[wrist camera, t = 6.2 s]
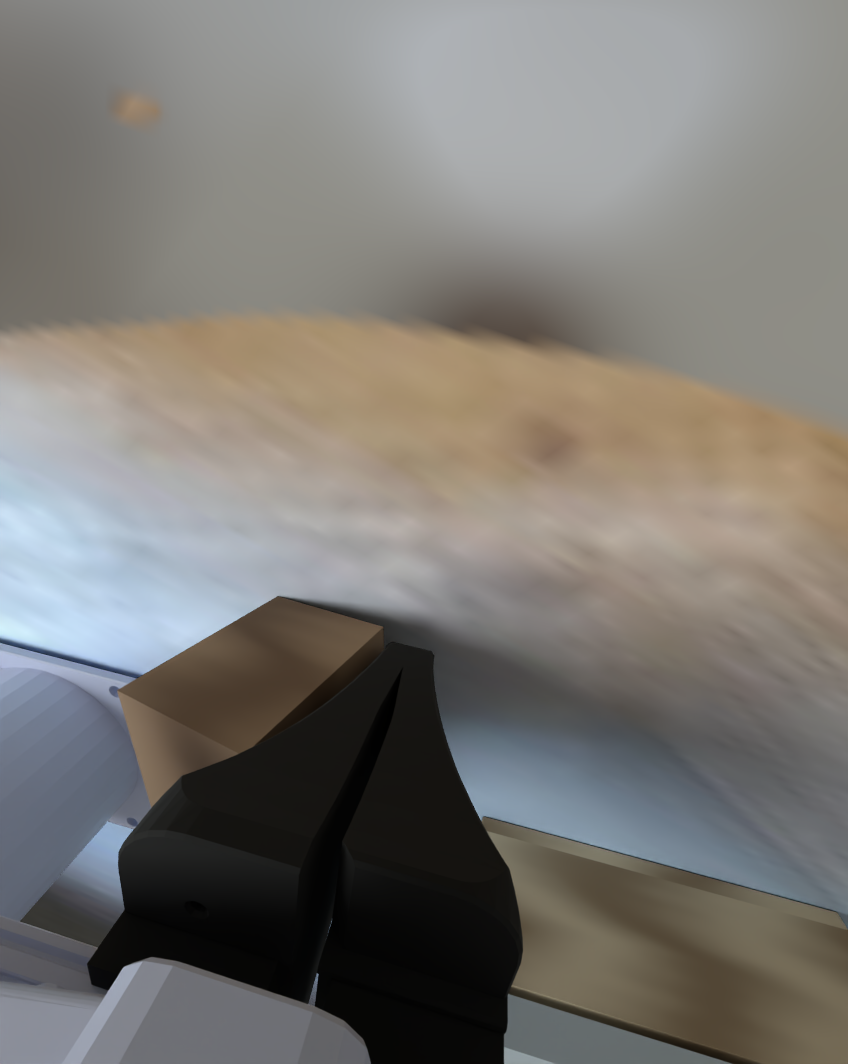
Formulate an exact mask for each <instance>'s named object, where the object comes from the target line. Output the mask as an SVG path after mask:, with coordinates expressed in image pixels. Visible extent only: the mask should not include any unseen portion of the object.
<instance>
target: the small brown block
mask: <svg viewBox="0 0 848 1064" xmlns="http://www.w3.org/2000/svg"><path fill="white" fill-rule="evenodd" d="M383 650H384V630H383V627H382V626H378V625H375V624H371V623H368V622H365V621H361V620H358V619H354V618H351V617H347V616H344V615H341V614H337V613H334V612H330V611H327V610H323V609H320V608H316V607H313V606H310V605H306V604H303V603H299V602H296V601H292V600H289V599H286V598H282V597H279V596H277V597H276V598H274V599H272V600H271V601H269V602H267V603H265V604H264V605H262V606H260V607H259V608H257V609H255V610H253V611H252V612H250V613H248V614H247V615H245V616H243V617H241V618H240V619H238V620H236V621H235V622H233V623H231V624H229V625H228V626H226V627H224V628H223V629H221V630H219V631H218V632H216V633H214V634H212V635H211V636H209V637H207V638H206V639H204V640H202V641H200V642H199V643H197V644H195V645H194V646H192V647H190V648H188V649H187V650H185V651H183V652H182V653H180V654H178V655H176V656H175V657H173V658H171V659H170V660H168V661H166V662H164V663H163V664H161V665H159V666H158V667H156V668H154V669H152V670H151V671H149V672H147V673H146V674H144V675H142V676H141V677H139V678H137V679H135V680H134V681H132V682H130V683H129V684H127V685H125V686H123V687H122V688H120V689H118V690H117V692H118V696H119V699H120V702H121V706H122V709H123V713H124V716H125V719H126V723H127V726H128V730H129V733H130V737H131V740H132V743H133V747H134V750H135V754H136V757H137V760H138V764H139V767H140V771H141V774H142V778H143V781H144V784H145V788H146V791H147V795H148V798H149V801H150V805H151V808H152V806H153V805H154V804H155V803H156V802H157V801H158V800H159V799H160V798H161V797H162V795H163V794H164V793H165V792H166V791H167V790H168V789H169V788H170V787H171V786H172V785H173V784H174V783H175V782H176V781H177V780H178V779H179V778H180V777H181V776H182V775H185V774H188V773H191V772H194V771H196V770H199V769H202V768H204V767H207V766H210V765H212V764H215V763H218V762H220V761H223V760H225V759H228V758H230V757H232V756H235V755H237V754H239V753H241V752H243V751H245V750H247V749H249V748H252V747H254V746H256V745H258V744H260V743H262V742H264V741H266V740H268V739H270V738H272V737H273V736H275V735H277V734H279V733H281V732H282V731H284V730H286V729H287V728H289V727H290V726H292V725H294V724H295V723H297V722H299V721H300V720H302V719H303V718H305V717H306V716H308V715H309V714H311V713H312V712H314V711H315V710H317V709H318V708H319V707H321V706H322V705H324V704H325V703H326V702H328V701H329V700H330V699H331V698H333V697H334V696H335V695H336V694H337V693H339V692H340V691H341V690H342V689H344V688H345V687H346V686H347V685H348V684H350V683H351V682H352V681H353V680H354V679H355V678H356V677H357V676H358V675H359V674H360V673H361V672H363V671H364V670H365V669H366V668H367V667H368V666H369V665H370V664H371V663H372V662H373V661H374V660H375V659H376V658H377V656H378V655H379V654H380V653H381V652H382V651H383Z"/></svg>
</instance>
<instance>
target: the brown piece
mask: <svg viewBox="0 0 848 1064" xmlns="http://www.w3.org/2000/svg"><path fill="white" fill-rule="evenodd" d="M482 824H483V825H484V827H485V829H486V831H487V833H488V835H489V836H490V838H491V840H492V841H493V843H494V845H495V846H496V848H497V850H498V851H499V853H500V855H501V856H502V858H503V859H504V861H505V863H506V864H507V866H508V867H509V869H510V873H511V876H512V881H513V885H514V889H515V893H516V898H517V903H518V908H519V914H520V921H521V928H522V936H523V954H522V960H521V964H520V967H519V969H518V972H517V974H516V976H515V979H514V981H513V984H512V986H511V989H510V991H509V993H508V994H510V995H513V996H516V997H520V998H523V999H526V1000H529V1001H532V1002H536V1003H539V1004H542V1005H545V1006H549V1007H552V1008H555V1009H558V1010H561V1011H565V1012H568V1013H571V1014H574V1015H577V1016H581V1017H584V1018H587V1019H590V1020H593V1021H597V1022H600V1023H603V1024H606V1025H610V1026H613V1027H616V1028H619V1029H622V1030H626V1031H629V1032H632V1033H635V1034H638V1035H642V1036H645V1037H648V1038H651V1039H654V1040H658V1041H661V1042H664V1043H667V1044H671V1045H674V1046H677V1047H680V1048H683V1049H687V1050H690V1051H693V1052H696V1053H699V1054H703V1055H706V1056H709V1057H712V1058H715V1059H719V1060H722V1061H725V1062H728V1063H732V1064H848V929H847V928H846V926H845V924H844V923H843V921H842V920H841V918H840V916H839V915H838V913H837V912H833V911H829V910H826V909H822V908H818V907H815V906H811V905H807V904H803V903H800V902H796V901H792V900H789V899H785V898H781V897H778V896H774V895H770V894H767V893H763V892H759V891H756V890H752V889H748V888H745V887H741V886H737V885H734V884H730V883H726V882H722V881H719V880H715V879H711V878H708V877H704V876H700V875H697V874H693V873H689V872H686V871H682V870H678V869H675V868H671V867H667V866H664V865H660V864H656V863H653V862H649V861H645V860H641V859H638V858H634V857H630V856H627V855H623V854H619V853H616V852H612V851H608V850H605V849H601V848H597V847H594V846H590V845H586V844H583V843H579V842H575V841H571V840H568V839H564V838H560V837H557V836H553V835H549V834H546V833H542V832H538V831H535V830H531V829H527V828H524V827H520V826H516V825H513V824H509V823H505V822H502V821H498V820H494V819H490V818H487V817H483V818H482Z"/></svg>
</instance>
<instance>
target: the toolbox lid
mask: <svg viewBox="0 0 848 1064" xmlns="http://www.w3.org/2000/svg"><path fill="white" fill-rule="evenodd" d="M504 1064H732V1063H728V1062H725V1061H722V1060H719V1059H715V1058H712V1057H709V1056H706V1055H703V1054H699V1053H696V1052H693V1051H690V1050H687V1049H683V1048H680V1047H677V1046H674V1045H671V1044H667V1043H664V1042H661V1041H658V1040H654V1039H651V1038H648V1037H645V1036H642V1035H638V1034H635V1033H632V1032H629V1031H626V1030H622V1029H619V1028H616V1027H613V1026H610V1025H606V1024H603V1023H600V1022H597V1021H593V1020H590V1019H587V1018H584V1017H581V1016H577V1015H574V1014H571V1013H568V1012H565V1011H561V1010H558V1009H555V1008H552V1007H549V1006H545V1005H542V1004H539V1003H536V1002H532V1001H529V1000H526V999H523V998H520V997H516V996H513V995H510V994H508V1025H507V1031H506V1033H505V1034H504Z"/></svg>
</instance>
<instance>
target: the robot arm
mask: <svg viewBox="0 0 848 1064" xmlns="http://www.w3.org/2000/svg"><path fill="white" fill-rule="evenodd" d="M433 661H434V654H433V653H432V651H428V650H424V649H420V648H416V647H411V646H407V645H403V644H399V643H394V642H391V643H389V644H388V645H387V646H386V647H385V648H384V650H383V651H382V652H381V653H380V654H379V655H378V656H377V658H376V659H375V660H374V661H373V662H372V663H371V664H370V665H369V666H368V667H367V668H366V669H365V670H364V671H363V672H361V673H360V674H359V675H358V676H357V677H356V678H355V679H354V680H353V681H352V682H351V683H350V684H348V685H347V686H346V687H345V688H344V689H342V690H341V691H340V692H339V693H337V694H336V695H335V696H334V697H333V698H331V699H330V700H329V701H328V702H326V703H325V704H324V705H322V706H321V707H319V708H318V709H317V710H315V711H314V712H312V713H311V714H309V715H308V716H306V717H305V718H303V719H302V720H300V721H299V722H297V723H295V724H294V725H292V726H290V727H289V728H287V729H286V730H284V731H282V732H281V733H279V734H277V735H275V736H273V737H272V738H270V739H268V740H266V741H264V742H262V743H260V744H258V745H256V746H254V747H252V748H249V749H247V750H245V751H243V752H241V753H239V754H237V755H235V756H232V757H230V758H228V759H225V760H223V761H220V762H218V763H215V764H212V765H210V766H207V767H204V768H202V769H199V770H196V771H194V772H191V773H188V774H185V775H182V776H181V777H180V778H179V779H178V780H177V781H176V782H175V783H174V784H173V785H172V786H171V787H170V788H169V789H168V790H167V791H166V792H165V793H164V794H163V795H162V797H161V798H160V799H159V800H158V801H157V802H156V803H155V804H154V805H153V806H152V808H151V805H150V801H149V798H148V795H147V791H146V788H145V784H144V781H143V778H142V774H141V771H140V767H139V764H138V760H137V757H136V754H135V750H134V747H133V743H132V740H131V737H130V733H129V730H128V726H127V723H126V719H125V716H124V713H123V709H122V706H121V702H120V699H119V696H118V692H117V690H118V689H120V688H122V687H123V686H125V685H127V684H129V683H130V682H132V681H134V680H135V679H136V678H133V677H129V676H125V675H121V674H117V673H114V672H110V671H106V670H102V669H98V668H94V667H90V666H87V665H83V664H79V663H75V662H71V661H67V660H64V659H60V658H56V657H52V656H48V655H44V654H41V653H37V652H33V651H29V650H25V649H21V648H17V647H14V646H10V645H6V644H2V643H0V1064H504V1034H505V1033H506V1031H507V1025H508V993H509V991H510V989H511V986H512V984H513V981H514V979H515V976H516V974H517V972H518V969H519V967H520V964H521V960H522V954H523V936H522V928H521V921H520V914H519V908H518V903H517V898H516V893H515V889H514V885H513V881H512V876H511V873H510V869H509V867H508V866H507V864H506V863H505V861H504V859H503V858H502V856H501V855H500V853H499V851H498V850H497V848H496V846H495V845H494V843H493V841H492V840H491V838H490V836H489V835H488V833H487V831H486V829H485V827H484V825H483V824H482V822H481V820H480V818H479V816H478V814H477V812H476V811H475V808H474V806H473V804H472V802H471V800H470V798H469V796H468V793H467V791H466V789H465V787H464V785H463V783H462V781H461V778H460V776H459V773H458V771H457V768H456V766H455V763H454V760H453V758H452V755H451V752H450V749H449V746H448V743H447V740H446V736H445V733H444V729H443V725H442V722H441V718H440V713H439V709H438V704H437V698H436V692H435V685H434V675H433ZM107 821H108V822H111V823H115V824H118V825H121V826H125V827H128V828H131V829H134V830H133V831H132V832H131V834H130V835H129V836H128V837H127V839H126V840H125V841H124V843H123V845H122V847H121V849H120V851H119V856H118V868H119V876H120V882H121V888H122V895H123V901H124V908H125V910H124V912H123V913H122V914H121V916H120V917H119V919H118V920H117V922H116V923H115V924H114V926H113V927H112V929H111V930H110V931H109V933H108V934H107V936H106V937H105V939H104V940H103V941H102V943H101V944H100V946H99V947H98V948H97V947H94V946H91V945H88V944H85V943H82V942H79V941H76V940H73V939H70V938H67V937H64V936H61V935H58V934H55V933H52V932H49V931H46V930H43V929H40V928H37V927H34V926H31V925H28V924H25V923H22V922H19V921H20V920H21V919H22V918H23V917H24V916H25V915H26V913H27V912H28V911H29V910H30V909H31V908H32V907H33V905H34V904H35V903H36V902H37V901H38V900H39V899H40V898H41V896H42V895H43V894H44V893H45V892H46V891H47V890H48V888H49V887H50V886H51V885H52V884H53V883H54V882H55V880H56V879H57V878H58V877H59V876H60V875H61V874H62V873H63V871H64V870H65V869H66V868H67V867H68V866H69V865H70V863H71V862H72V861H73V860H74V859H75V858H76V857H77V855H78V854H79V853H80V852H81V851H82V850H83V849H84V848H85V846H86V845H87V844H88V843H89V842H90V841H91V840H92V838H93V837H94V836H95V835H96V834H97V833H98V832H99V830H100V829H101V828H102V827H103V826H104V825H105V824H106V823H107ZM331 921H332V923H331ZM330 924H331V926H330ZM329 928H330V929H329ZM328 931H329V932H328ZM326 938H327V939H326ZM317 973H318V974H319V976H318V984H317V993H316V1001H315V1006H312V1005H309V1004H308V1002H309V999H310V995H311V992H312V988H313V984H314V981H315V977H316V974H317Z"/></svg>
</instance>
